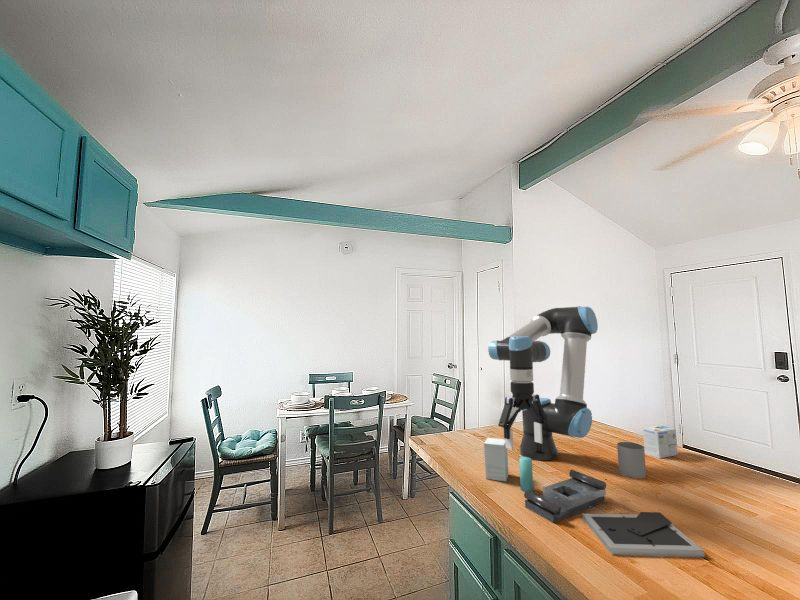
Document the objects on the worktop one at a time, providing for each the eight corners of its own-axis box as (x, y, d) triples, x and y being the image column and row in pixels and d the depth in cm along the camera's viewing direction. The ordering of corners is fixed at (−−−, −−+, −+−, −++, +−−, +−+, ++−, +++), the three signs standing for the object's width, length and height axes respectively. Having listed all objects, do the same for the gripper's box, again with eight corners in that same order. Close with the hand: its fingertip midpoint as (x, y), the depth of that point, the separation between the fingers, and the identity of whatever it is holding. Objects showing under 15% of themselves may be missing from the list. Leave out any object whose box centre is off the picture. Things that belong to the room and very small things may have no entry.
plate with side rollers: (523, 506, 107) (522, 484, 108) (575, 488, 118) (574, 468, 119) (554, 523, 97) (553, 499, 98) (607, 502, 109) (606, 480, 109)
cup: (650, 479, 124) (648, 449, 125) (624, 477, 126) (622, 448, 127) (639, 469, 133) (637, 442, 133) (615, 468, 134) (613, 441, 135)
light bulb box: (662, 450, 153) (660, 424, 154) (678, 455, 146) (676, 428, 147) (644, 453, 149) (642, 427, 150) (660, 458, 143) (658, 431, 144)
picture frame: (660, 523, 98) (582, 521, 99) (659, 512, 98) (582, 510, 100) (704, 559, 82) (611, 557, 84) (703, 546, 82) (610, 544, 84)
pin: (518, 488, 119) (516, 458, 120) (526, 486, 121) (525, 455, 122) (527, 493, 115) (525, 461, 116) (536, 490, 117) (534, 459, 118)
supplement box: (509, 474, 131) (507, 439, 132) (506, 482, 124) (504, 445, 125) (488, 471, 134) (487, 437, 135) (484, 478, 127) (483, 442, 128)
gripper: (502, 385, 112) (504, 455, 110) (555, 380, 123) (558, 442, 122) (486, 382, 118) (488, 448, 116) (538, 377, 130) (541, 437, 128)
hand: (524, 445), depth 119 cm, fingers open, 13 cm apart
